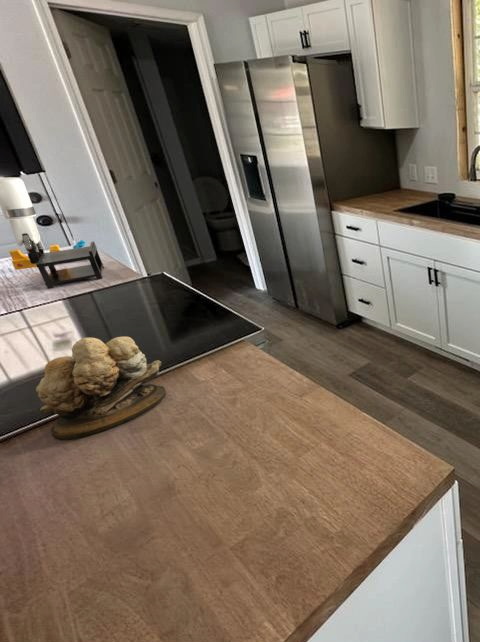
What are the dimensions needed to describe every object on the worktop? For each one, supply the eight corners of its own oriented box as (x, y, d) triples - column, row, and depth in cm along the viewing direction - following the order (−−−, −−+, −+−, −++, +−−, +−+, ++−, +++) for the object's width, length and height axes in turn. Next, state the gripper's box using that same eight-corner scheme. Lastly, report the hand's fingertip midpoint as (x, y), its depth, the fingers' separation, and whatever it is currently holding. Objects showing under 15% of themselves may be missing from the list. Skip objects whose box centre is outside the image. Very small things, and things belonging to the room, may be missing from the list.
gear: (63, 255, 170) (80, 235, 171) (81, 261, 174) (98, 242, 176) (64, 265, 163) (82, 244, 164) (83, 271, 168) (100, 251, 169)
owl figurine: (166, 379, 92) (140, 311, 86) (177, 402, 85) (150, 330, 79) (51, 421, 80) (11, 345, 74) (52, 452, 73) (8, 371, 66)
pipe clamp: (15, 269, 149) (8, 252, 147) (18, 266, 152) (11, 250, 150) (62, 263, 156) (56, 247, 154) (64, 260, 159) (58, 244, 157)
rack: (47, 289, 141) (33, 260, 137) (53, 276, 152) (40, 249, 148) (102, 278, 150) (91, 251, 146) (104, 267, 161) (93, 241, 157)
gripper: (8, 210, 151) (28, 257, 157) (-2, 218, 139) (19, 269, 145) (38, 208, 156) (56, 253, 162) (31, 215, 144) (50, 264, 150)
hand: (38, 260), depth 153 cm, fingers closed on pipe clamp, 4 cm apart
